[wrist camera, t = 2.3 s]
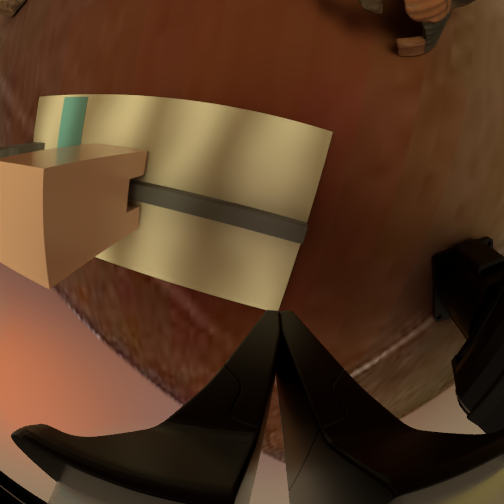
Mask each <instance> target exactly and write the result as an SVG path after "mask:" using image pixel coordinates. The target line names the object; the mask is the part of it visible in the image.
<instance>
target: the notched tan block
mask: <svg viewBox="0 0 504 504" xmlns="http://www.w3.org/2000/svg"><path fill="white" fill-rule="evenodd" d="M146 157H147V151H146V150H139V149H133V148H126V147H120V146H112V145H105V144H97V143H93V144H83V145H75V146H67V147H60V148H53V149H46V150H40V151H34V152H29V153H23V154H18V155H13V156H9V157H4V158H0V262H1V263H3V264H4V265H6V266H8V267H9V268H11V269H13V270H15V271H16V272H18V273H20V274H22V275H23V276H25V277H27V278H29V279H31V280H32V281H34V282H36V283H38V284H40V285H42V286H44V287H46V288H48V289H51V288H52V287H54V286H55V285H56V284H58V283H59V282H60V281H62V280H63V279H64V278H66V277H67V276H69V275H70V274H71V273H73V272H74V271H75V270H77V269H78V268H80V267H81V266H83V265H84V264H85V263H87V262H88V261H90V260H91V259H93V258H94V257H95V256H97V255H98V254H100V253H101V252H103V251H104V250H106V249H107V248H109V247H110V246H112V245H113V244H115V243H116V242H118V241H119V240H121V239H122V238H124V237H125V236H127V235H129V234H130V233H132V232H133V231H135V230H136V229H138V220H139V210H140V206H136V205H132V204H128V203H127V199H128V190H129V181H130V179H132V178H135V177H139V176H142V175H144V170H145V164H146Z"/></svg>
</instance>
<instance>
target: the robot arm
mask: <svg viewBox="0 0 504 504" xmlns="http://www.w3.org/2000/svg"><path fill="white" fill-rule="evenodd" d="M488 242H489V243H488ZM487 243H488V245H487ZM439 258H440V260H439V261H438V262H437V260H438V259H439ZM432 267H433V318H434V320H435V321H437V322H438V321H441V320H444V319H447V318H449V317H451V318H452V320H453V321H454V323H455V324H456V325H457V327H458V328H459V330H460V331H461V333H462V334H463V335H464V337H465V338H466V342H465V344H464V345H463V347H462V348H461V350H460V351H459V352H458V354H457V355H455V356H454V358H453V359H452V361H451V362H452V367H453V373H454V380H455V386H456V390H455V391H456V395H457V399H458V402H459V405H460V407H461V408H462V409H463V411H464V412H465V413H466V414H467V418H468V420H470V421H472V422H473V423H475V424H476V425H478V426H479V427H480V428H481V429H482V430H483V431H484V432H485V433H486V434H478V435H477V434H476V435H473V434H453V433H441V432H431V431H422V430H417V429H414V428H412V427H409V426H408V425H406V424H404V423H403V422H401V421H400V420H399V419H398V418H397V417H395V416H394V415H393V414H392V413H391V412H389V411H388V410H387V409H386V408H385V407H383V406H382V405H381V404H380V403H379V402H377V401H376V400H375V399H374V398H373V397H372V396H371V395H369V394H368V393H367V392H366V391H365V390H364V389H363V388H362V387H361V386H360V385H359V384H358V383H357V382H356V381H355V380H354V379H353V378H352V377H351V376H350V375H349V374H348V373H347V371H346V370H344V368H343V367H342V366H341V365H340V364H339V363H338V362H337V361H336V359H335V358H334V357H333V356H332V355H331V354H330V353H329V352H328V351H327V349H326V348H325V347H324V346H323V345H322V344H321V343H320V342H319V341H318V339H317V338H316V337H315V336H314V335H313V334H312V333H311V332H310V330H309V329H308V328H307V327H306V326H305V325H304V324H303V323H302V322H301V320H300V319H299V318H298V317H297V316H296V315H295V314H294V313H293V312H292V311H280V313H279V311H277V310H267V311H266V312H265V313H264V314H263V316H262V317H261V318H260V320H259V321H258V322H257V323H256V325H255V326H254V327H253V329H252V330H251V331H250V332H249V334H248V335H247V336H246V338H245V339H244V340H243V341H242V343H241V344H240V345H239V347H238V348H237V349H236V350H235V352H234V353H233V354H232V355H231V357H230V358H229V359H228V360H227V362H226V363H225V364H224V366H223V367H222V368H221V369H220V370H219V371H218V373H217V374H216V375H215V376H214V377H213V378H212V379H211V381H210V382H209V383H208V384H207V385H206V386H205V387H204V388H203V389H202V390H201V391H199V392H198V393H197V394H196V395H195V396H194V397H193V398H192V399H190V400H189V401H188V402H187V403H186V404H185V405H183V406H182V407H181V408H180V409H179V410H178V411H176V412H175V413H174V414H173V415H172V416H170V417H169V418H168V419H167V420H165V421H164V422H162V423H161V424H159V425H157V426H155V427H153V428H150V429H146V430H140V431H134V432H128V433H121V434H114V435H106V436H97V437H80V436H74V435H69V434H67V433H64V432H61V431H59V430H57V429H55V428H53V427H51V426H48V425H45V424H38V425H29V426H25V427H22V428H20V429H18V430H16V431H15V432H13V433H12V434H11V438H12V440H13V441H14V442H15V444H16V445H17V446H18V447H19V448H20V449H21V450H22V451H23V452H24V453H25V454H26V455H27V456H28V457H29V458H30V459H31V460H32V461H33V462H34V463H35V464H37V465H38V466H39V467H40V468H41V469H42V470H43V471H45V472H46V473H47V474H48V475H49V476H50V477H52V478H53V479H54V480H55V481H56V482H57V483H56V485H55V488H54V490H53V492H52V495H51V497H50V500H49V502H48V503H46V502H45V501H43V500H42V499H40V498H38V497H37V496H35V495H33V494H32V493H31V492H29V491H27V490H26V489H25V488H23V487H22V486H20V485H19V484H17V483H16V482H15V481H13V480H12V479H10V478H9V477H8V476H7V475H5V474H4V473H3V472H1V471H0V504H249V501H250V496H251V492H252V488H253V484H254V479H255V475H256V471H257V467H258V461H259V457H260V453H261V448H262V443H263V439H264V434H265V429H266V424H267V419H268V414H269V408H270V403H271V398H272V393H273V387H274V382H275V375H276V379H277V389H278V398H279V406H280V415H281V424H282V434H283V443H284V452H285V462H286V471H287V481H288V490H289V500H290V504H504V257H503V256H502V255H501V254H499V253H498V252H497V251H495V250H494V249H493V240H492V239H491V238H490V237H485V238H482V239H474V240H471V241H468V242H465V243H462V244H459V245H456V246H455V247H454V248H452V249H449V250H446V251H443V252H440V253H437V254H435V255H434V256H433V258H432ZM438 315H439V316H438ZM437 316H438V317H437Z"/></svg>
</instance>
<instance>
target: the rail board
mask: <svg viewBox="0 0 504 504" xmlns="http://www.w3.org/2000/svg"><path fill="white" fill-rule="evenodd" d="M332 133H333V132H331V131H328V130H325V129H321V128H318V127H315V126H311V125H308V124H304V123H300V122H297V121H293V120H289V119H285V118H281V117H277V116H273V115H269V114H264V113H260V112H255V111H250V110H245V109H240V108H235V107H229V106H224V105H218V104H212V103H205V102H198V101H190V100H182V99H173V98H163V97H152V96H137V95H112V94H82V95H58V96H44V97H40V99H39V104H38V110H37V117H36V124H35V132H34V141H33V142H30V143H23V144H17V145H11V146H6V147H0V158H4V157H9V156H13V155H18V154H23V153H29V152H34V151H40V150H46V149H53V148H60V147H67V146H75V145H83V144H93V143H97V144H105V145H112V146H120V147H126V148H133V149H139V150H146V151H147V157H146V164H145V170H144V175H142V176H139V177H135V178H132V179H130V181H129V190H128V199H127V203H128V204H132V205H136V206H140V210H139V220H138V229H136V230H135V231H133V232H132V233H130V234H129V235H127V236H125V237H124V238H122V239H121V240H119V241H118V242H116V243H115V244H113V245H112V246H110V247H109V248H107V249H106V250H104V251H103V252H101V253H100V254H98V255H97V256H95V257H97V258H100V259H103V260H105V261H108V262H111V263H114V264H117V265H120V266H123V267H125V268H128V269H131V270H134V271H137V272H140V273H143V274H146V275H149V276H152V277H155V278H159V279H162V280H165V281H168V282H171V283H174V284H177V285H181V286H184V287H187V288H190V289H194V290H197V291H200V292H204V293H207V294H210V295H214V296H217V297H221V298H224V299H228V300H231V301H235V302H238V303H242V304H246V305H249V306H253V307H257V308H260V309H264V310H277V311H278V310H279V307H280V304H281V301H282V298H283V295H284V292H285V289H286V286H287V283H288V280H289V277H290V274H291V271H292V268H293V265H294V262H295V259H296V256H297V253H298V250H299V247H300V244H303V242H304V238H305V235H306V232H307V229H308V225H307V221H308V218H309V214H310V211H311V208H312V204H313V201H314V197H315V194H316V191H317V187H318V184H319V180H320V177H321V173H322V170H323V166H324V163H325V159H326V155H327V152H328V148H329V144H330V141H331V137H332Z"/></svg>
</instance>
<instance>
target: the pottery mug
mask: <svg viewBox="0 0 504 504" xmlns="http://www.w3.org/2000/svg"><path fill="white" fill-rule="evenodd" d="M358 1H359V2H360V3H361V5H362V7H363V8H364V9H366V10H367V11H370V12H373V13H376V14H382V12H383V4H382V2H383V1H385V0H358ZM473 1H475V0H404V6H405V11H406V13H407V14H408V15H409V17H410V18H411V19H412V20H414V21H418V22H421V26H422V29H423V33H422V35H421V36H416V37H410V38H398V39H397V40H396V43H397V47H398V55H399V56H416V55H420V54H423V53H426V52H428V51H430V50H431V49H433V48H434V47H435V46H436V44H437V43H438V40H439V37H440V35H441V33H442V31H443V29H444V27H445V25H446V22H447V20H448V18H449V16H450V11H451V9H454V8H457V7H461V6H465V5H468V4H470V3H472V2H473Z"/></svg>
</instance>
